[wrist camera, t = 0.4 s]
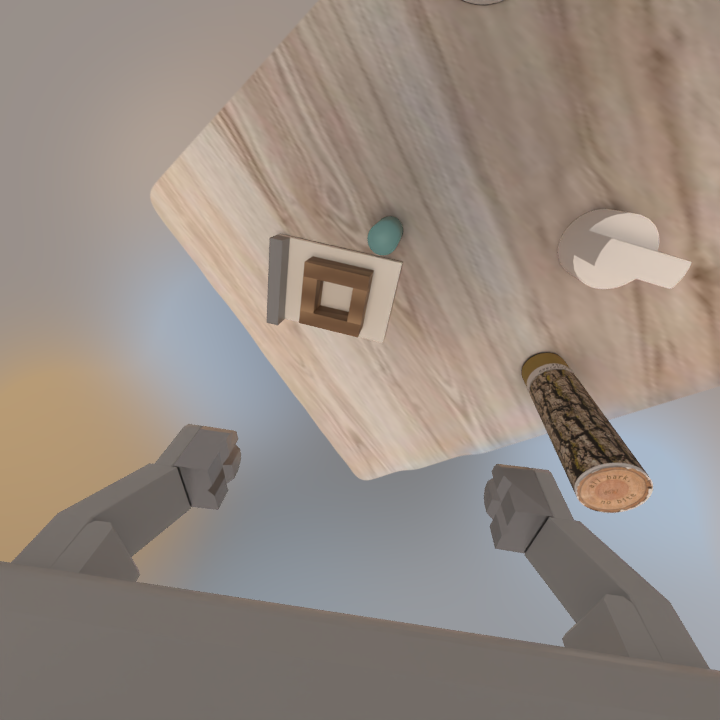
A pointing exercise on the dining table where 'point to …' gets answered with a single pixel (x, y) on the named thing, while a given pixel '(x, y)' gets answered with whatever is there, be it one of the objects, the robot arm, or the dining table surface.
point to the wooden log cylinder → (584, 439)
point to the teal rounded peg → (385, 235)
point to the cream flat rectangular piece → (288, 282)
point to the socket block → (341, 275)
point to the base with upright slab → (617, 251)
